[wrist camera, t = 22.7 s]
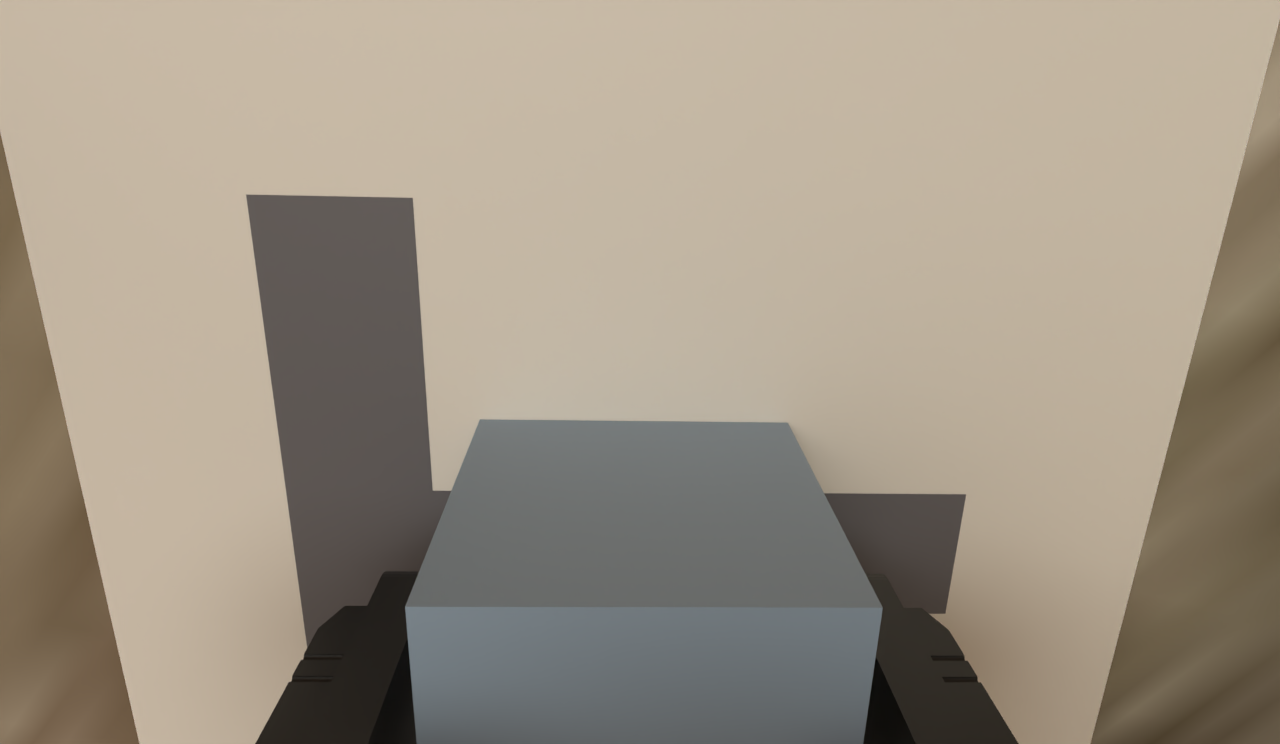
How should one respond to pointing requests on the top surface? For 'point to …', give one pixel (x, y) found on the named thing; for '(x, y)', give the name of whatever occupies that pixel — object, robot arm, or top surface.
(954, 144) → the board
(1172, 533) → the top surface
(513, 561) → the slate cube
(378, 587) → the robot arm
